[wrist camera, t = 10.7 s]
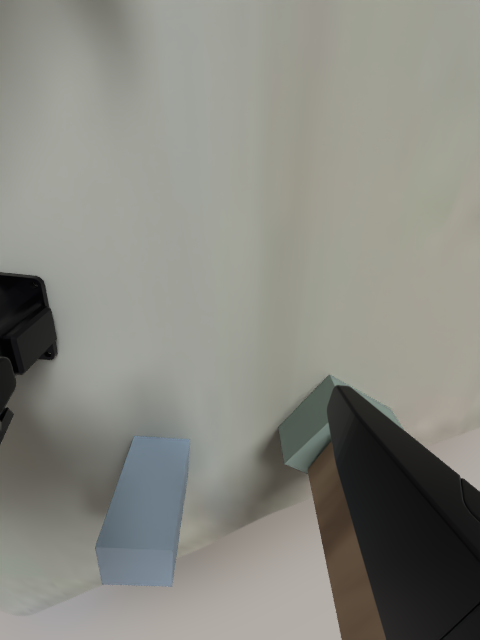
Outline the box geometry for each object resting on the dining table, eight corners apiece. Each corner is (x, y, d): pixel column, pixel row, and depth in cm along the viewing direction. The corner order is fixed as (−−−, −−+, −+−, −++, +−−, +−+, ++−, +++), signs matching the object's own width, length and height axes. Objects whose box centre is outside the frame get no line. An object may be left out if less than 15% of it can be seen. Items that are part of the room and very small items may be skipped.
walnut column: (307, 469, 25) (355, 708, 15) (339, 431, 22) (423, 687, 12) (361, 481, 26) (441, 713, 16) (397, 446, 23) (521, 694, 13)
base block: (277, 425, 28) (284, 464, 25) (328, 372, 25) (344, 407, 22) (336, 452, 30) (350, 492, 26) (389, 406, 27) (412, 443, 24)
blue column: (136, 471, 30) (102, 584, 22) (134, 435, 28) (95, 547, 20) (187, 474, 31) (171, 586, 23) (189, 439, 28) (172, 550, 20)
